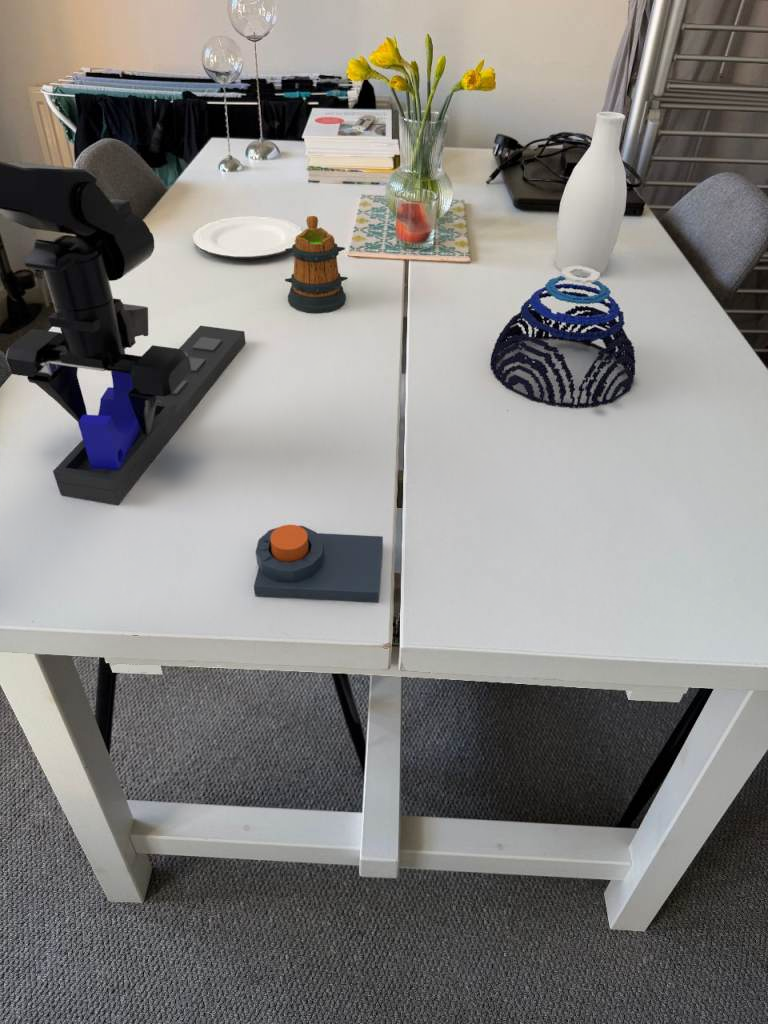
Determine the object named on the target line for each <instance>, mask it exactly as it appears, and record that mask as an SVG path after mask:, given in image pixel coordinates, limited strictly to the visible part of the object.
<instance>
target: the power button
mask: <svg viewBox="0 0 768 1024" xmlns="http://www.w3.org/2000/svg"><path fill="white" fill-rule="evenodd" d="M300 526H301V525H296V524H284V525H281V526H277V527H276V528H277V529H275V528H274V529H275V530H274V531H273V532H272V534H271V537H270V540H271V549H272V554H273V556H274V557H275V558H276V559H278V560H279V561H282V562H294V561H297V560H300V559H302V558H304V557H305V556H306V554H307V553H308V535H307V532H306V531H305V530H304V529H303V528H302V527H300Z"/></svg>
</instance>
